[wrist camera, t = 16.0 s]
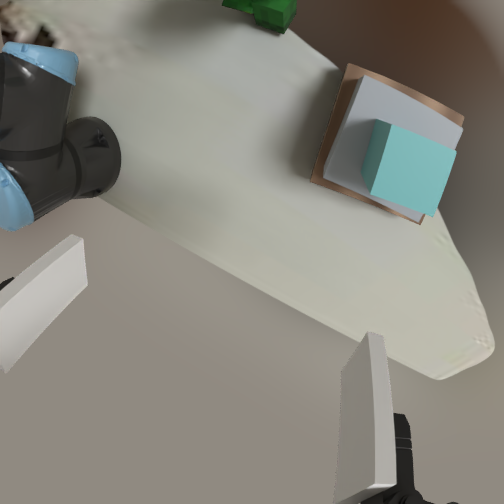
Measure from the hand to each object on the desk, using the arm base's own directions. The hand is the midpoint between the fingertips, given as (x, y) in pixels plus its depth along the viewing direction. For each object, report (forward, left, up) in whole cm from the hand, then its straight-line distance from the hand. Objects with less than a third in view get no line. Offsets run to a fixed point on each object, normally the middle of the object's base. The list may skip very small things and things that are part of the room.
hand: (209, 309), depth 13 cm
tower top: (+10, +7, -29) cm, 31 cm away
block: (+10, +6, -23) cm, 26 cm away
